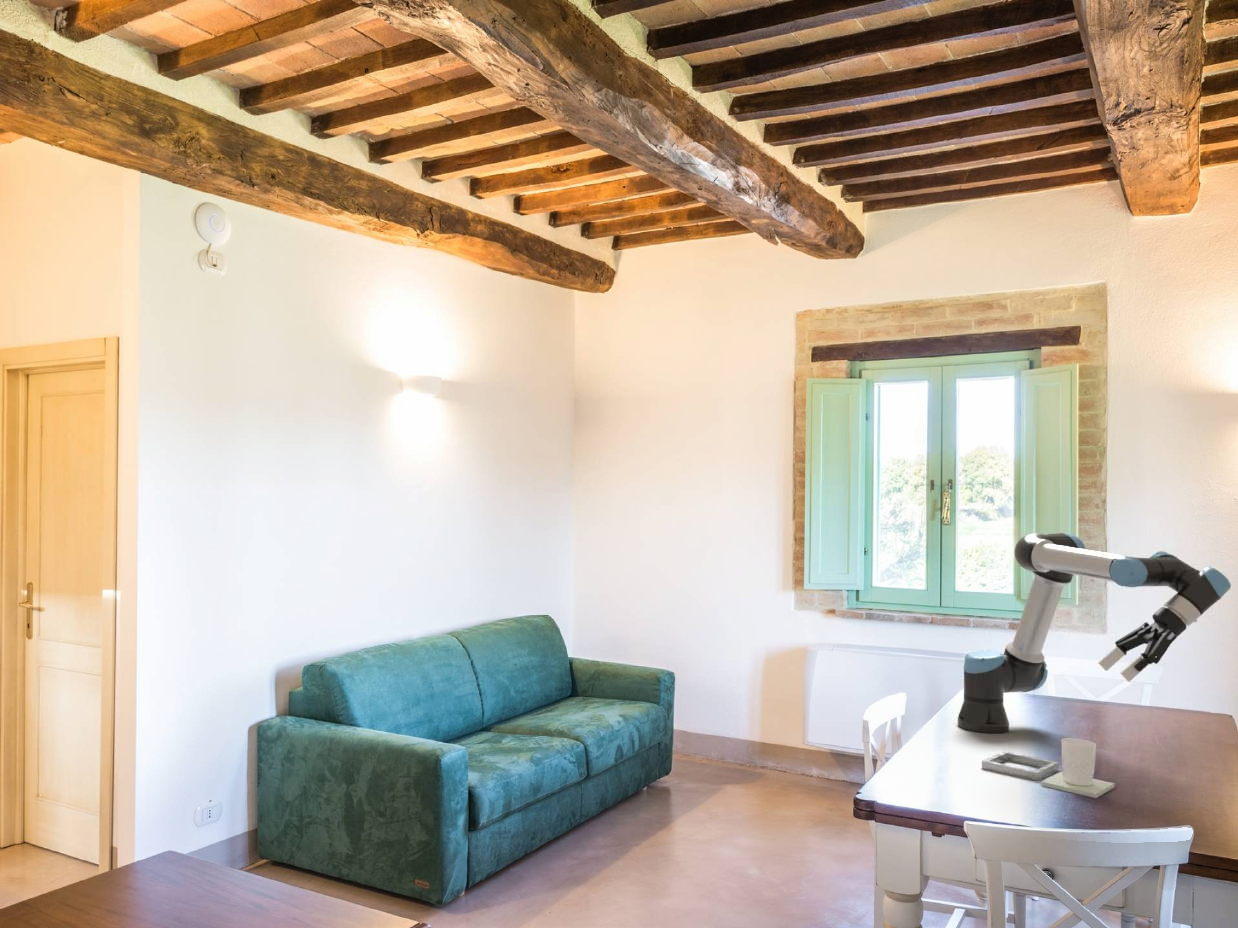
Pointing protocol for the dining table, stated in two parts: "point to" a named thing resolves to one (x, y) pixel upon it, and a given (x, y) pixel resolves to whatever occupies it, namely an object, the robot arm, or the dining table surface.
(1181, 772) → the dining table surface
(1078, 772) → the white cup
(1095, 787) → the sage tile
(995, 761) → the square frame
